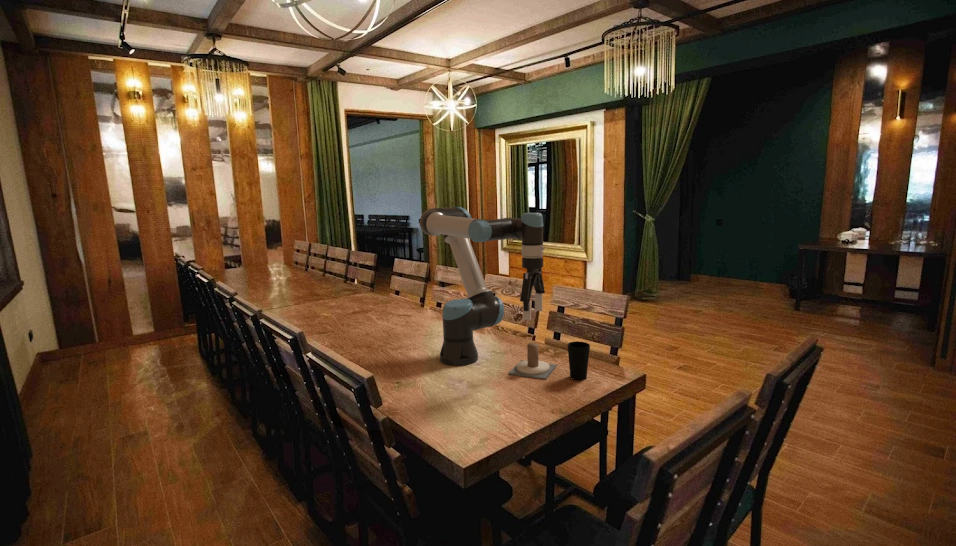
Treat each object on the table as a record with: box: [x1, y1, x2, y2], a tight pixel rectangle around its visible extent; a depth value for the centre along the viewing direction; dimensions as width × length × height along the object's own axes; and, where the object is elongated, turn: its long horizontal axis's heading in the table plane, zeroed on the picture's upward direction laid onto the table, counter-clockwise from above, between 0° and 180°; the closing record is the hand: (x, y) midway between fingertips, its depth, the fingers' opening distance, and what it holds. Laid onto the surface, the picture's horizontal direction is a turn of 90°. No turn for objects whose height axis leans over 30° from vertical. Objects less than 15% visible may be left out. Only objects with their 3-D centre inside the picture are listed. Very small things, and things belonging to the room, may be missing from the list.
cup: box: [567, 340, 591, 382], centre depth 168 cm, size 8×8×12 cm
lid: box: [516, 342, 550, 375], centre depth 176 cm, size 12×12×9 cm
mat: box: [507, 359, 558, 380], centre depth 177 cm, size 14×14×1 cm
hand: (533, 315), depth 173 cm, fingers open, 13 cm apart
